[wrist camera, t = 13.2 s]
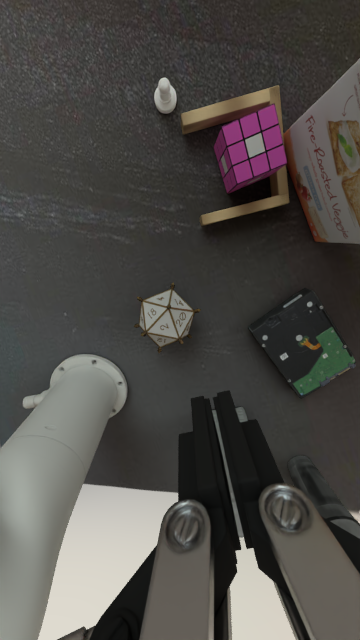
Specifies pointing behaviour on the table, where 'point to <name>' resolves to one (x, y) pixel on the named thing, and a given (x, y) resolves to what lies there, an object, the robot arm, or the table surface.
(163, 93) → the chess pawn
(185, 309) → the game die
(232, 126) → the puzzle toy
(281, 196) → the frame
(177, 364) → the table surface
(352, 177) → the cracker box
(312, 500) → the beverage cup
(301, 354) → the disk drive
